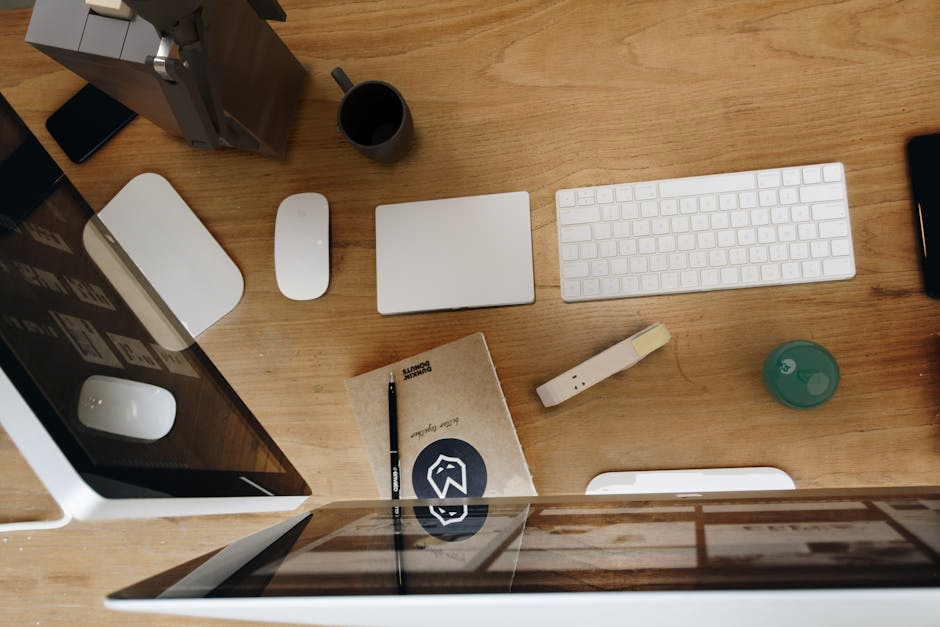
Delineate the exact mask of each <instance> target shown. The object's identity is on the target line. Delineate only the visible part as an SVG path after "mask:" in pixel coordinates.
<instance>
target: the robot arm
mask: <svg viewBox="0 0 940 627" xmlns="http://www.w3.org/2000/svg"><path fill="white" fill-rule="evenodd" d="M121 1H122V2H124V3H125V4H126V5H127V6H128V7H129V8H130V9H131V10H132V11H133V12H134V13H136V14H137V15H138V16H140V17H141V18H143V19H144V20H146V21H148V22H149V23H151V24H152V25H153V26H154V28H155V30H156V32H157V34H158V37H159V38H160V40H161V44H160V47H159V50H158V54H157V56H151V55H148V56H146V58H145V67H146V69H147V71H148V72H149V73H150V74H151V75H152V76H153V77H154V78H155V79H156V80H157V81H158V83H159V85H160V87H161V89H162V91H163V93H164V95H165V97H166V99H167V102H168V104H169V106H170V108H171V110H172V112H173V114H174V116H175V118H176V121H177V123H178V125H179V127H180V129H181V131H182V133H183V135H184V137H185V138H184V140H185V141H186V144H187V146H188V147H189V148H190V149H196V150H203V151H210V152H218V151H219V150H220V147H221V146H222V145H225V146H224V147H227V146H232V147H240V148H247V149H254V150H259V147H260V142H259V141H258V140H256V139H255V138H254V137H253V136H252V135H251V134H250V133H249V132H248V131H246V130H245V129H244V128H243V127H242V126H241V125H240V124H239V123H238V122H236V121H235V120H234V119H233V118H232V117H226V116H225V115H224V110H223V106H222V101H221V97H220V93H219V88H218V84H217V80H216V75H215V71H214V66H213V62H212V58H213V57H214V56H215V55H216V51H215V47H214V42H213V38H212V29H213V20H214V15H215V13H216V10H217V6H218V2H219V1H218V0H121ZM247 2H248V3H249V4H250V6H251V7H252V9H253V10H254V11H255V13H256V14H257V15H258V17H259V18H260V19H262V20H266V21H272V22H280V23H287V18H288V15H287V13H286V11H285V9H284V8H283V7H282V6H281V4H280V3H279V1H278V0H247ZM196 42H200V45H201V47H195V46H187V45H189V44H193V43H196ZM232 147H231V148H232Z"/></svg>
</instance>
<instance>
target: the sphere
mask: <svg viewBox="0 0 940 627" xmlns="http://www.w3.org/2000/svg"><path fill="white" fill-rule="evenodd" d="M760 382H761V385H762V387H763V389H764V391H765V393H766V395H767V396H768V397H769V398H770V399H771V400H772V402H773V403H775V404H776V405H778V406H780V407H781V408H783V409H786V410H789V411H793V412H797V413H799V412H804V413H805V412H813V411H816V410H818V409H821V408H823V407H825V406H826V405H827V404H828V403H830V402H831V401H833V399H834V398H835V396H836V395H837V393H838V392H839V390H840V385H841V382H842V373H841V367H840V365H839V363H838V360H837V358H836V356H835V355H834V354H833V353H832V352H831V351H830V349H828V348H827V347H826V346H824V345H822V344H821V343H819V342H817V341H814V340H811V339H807V338H792V339H788V340H786V341H785V340H784V341H782V342H780V343H778V344H776V345H775V346H774V347H773V348H771V349H770V350H769V351H768V352H767V353H766V355H765V357H764V359H763V360H762V363H761V367H760Z"/></svg>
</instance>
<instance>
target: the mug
mask: <svg viewBox="0 0 940 627" xmlns="http://www.w3.org/2000/svg"><path fill="white" fill-rule="evenodd" d="M330 76H331V77H332V79H333V80H334V82H335V83H336V84H337V85H338V87H339V88H340V89H341V91H342V92H343V94H344V95H343V97H342V98H341V100H340V102H339V105H338V108H337V115H336V117H337V118H336V119H337V120H336V121H337V126H338V129H339V132H340V133H341V136H342V138H344V139H345V141H346V142H347V143H348V144H349V145H350V146H351V147H352V148H353V149H354V150H355V151H356V152H357V153H358V154H360V155H361V156H363V157H364V158H366V159H368V160H370V161H371V160H372V161H374V162H378V163H384V164H397V163H399V162H401V161H403V160H404V159H405V158H406V157H407V156H408V155H409V153H410V152H411V149H412V147H413V141H414V135H415V131H414V130H415V128H414V118H413V115H412V112H411V109H410V107H409V105H408V103H407V101H406V99H405V98H404V96H403V94H402V92H400V91H399V89H398V88H397V87H395V86H394V85H393V84H390V83H389V82H386V81H383V80H377V79H372V80H371V79H370V80H364V81H361V82H359V83H357V84H354V83H353V81H352V80H351V78H350V77H349V76H348V75H347V73H346V72H345V71H344V69H343V68H342V67H340V66H336V67H334V68H333V69H332V70H331V71H330Z"/></svg>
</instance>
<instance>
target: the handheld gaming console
mask: <svg viewBox="0 0 940 627" xmlns="http://www.w3.org/2000/svg"><path fill="white" fill-rule="evenodd" d="M671 339H672V335H671V333H670V331H669V329H668V328H667V327H666V324H665V323H664V322H663V323H661V322H658V321H657V322H655V323H652V324H651V325H649V326H648V327H646V328H644V329H642V330H640V331H638V332H637V333H635V334H633V335H630V336H629V337H628V338H625V339H624V340H622V341H619V342H617V343H615V344H613V345H612V346H610V347H608V348H606V349H605V350H603V351H601V352H599V353H598V354H596V355H594V356H592V357H590V358H589V359H587V360H585V361H583V362H581V363H579V364H578V365H576V366H574V367H571V368H570V369H568V370H567V371H564V372H563V373H560V374H559V375H557V376H556V377H554V378H552V379H550V380H548V381H547V382H545V383H543V384H542V385H540V386H538V387H536V390H535V391H536V393H537V395H538V396H539V398H540V400H541V402H542V404H543V405H544V407H545V408H549V407H553V406H557V405H559V404H561V403H563V402H565V401H567V400H568V399H571V398H572V397H574V396H576V395H578V394H579V393H582V392H583V391H585V390H587V389H589V388H590V387H592V386H595V385H596V384H597V383H600V382H602V381H603V380H605V379H607V378H608V377H610V376H613V375H614V374H617V373H619V372H621V371H625V370H628V369H630V368H631V367H633V366H634V365H636V364H638V362H639V361H641V360H643V359H644V358H645V357H647V355H650V353H652V352H654V351H655V350H657V349H658V348H661V347H663V346H664V345H666V344H668V343H669V342H671Z"/></svg>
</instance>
